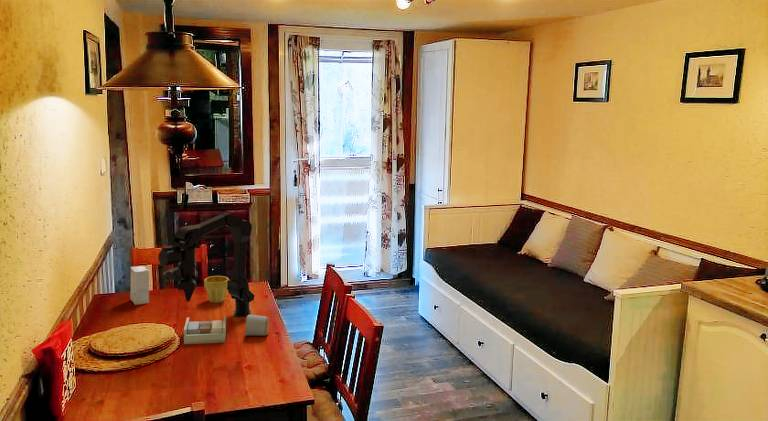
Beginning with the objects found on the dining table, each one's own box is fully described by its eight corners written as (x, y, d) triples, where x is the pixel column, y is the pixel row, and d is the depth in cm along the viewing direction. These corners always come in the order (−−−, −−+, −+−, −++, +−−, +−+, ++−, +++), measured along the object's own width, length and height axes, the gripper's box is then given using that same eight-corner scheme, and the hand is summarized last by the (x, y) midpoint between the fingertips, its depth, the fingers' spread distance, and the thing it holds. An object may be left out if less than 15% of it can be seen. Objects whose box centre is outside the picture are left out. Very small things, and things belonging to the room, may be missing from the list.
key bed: (187, 331, 227) (186, 317, 226) (225, 329, 230) (225, 315, 229) (184, 344, 214) (183, 329, 213) (224, 342, 217) (224, 327, 216)
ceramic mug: (267, 338, 222) (267, 318, 221) (244, 338, 222) (244, 318, 221) (270, 328, 233) (270, 309, 232) (249, 328, 232) (249, 309, 231)
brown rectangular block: (201, 327, 225) (201, 321, 225) (211, 326, 226) (211, 320, 225) (199, 334, 217) (199, 328, 217) (210, 334, 218) (210, 328, 218)
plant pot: (218, 305, 256) (217, 283, 255) (199, 301, 261) (199, 279, 259) (233, 299, 266) (233, 277, 264) (215, 295, 270) (215, 274, 268)
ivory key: (212, 326, 226) (212, 320, 226) (222, 326, 227) (222, 320, 226) (211, 334, 218) (211, 328, 218) (222, 333, 219) (221, 327, 219)
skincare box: (130, 300, 259) (129, 266, 257) (144, 297, 263) (143, 265, 260) (135, 305, 253) (134, 271, 250) (150, 303, 256) (149, 269, 254)
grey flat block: (189, 327, 224) (189, 321, 224) (199, 327, 225) (199, 321, 224) (187, 335, 216) (187, 329, 216) (198, 335, 217) (198, 328, 217)
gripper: (166, 255, 229) (167, 294, 232) (162, 268, 212) (163, 310, 214) (197, 254, 232) (197, 293, 235) (195, 267, 215) (195, 308, 217)
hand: (188, 301), depth 225 cm, fingers closed
